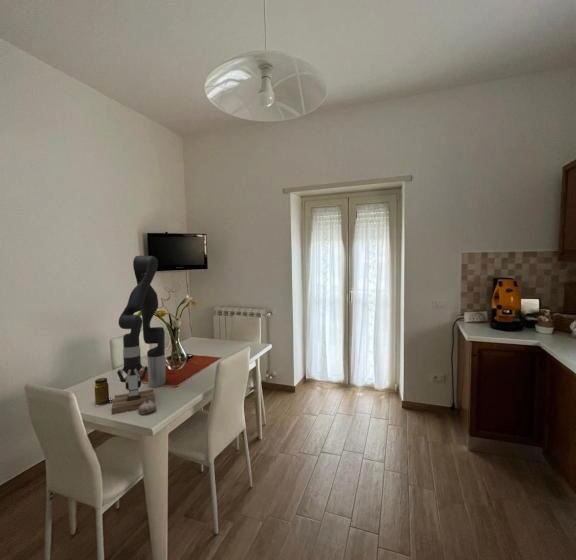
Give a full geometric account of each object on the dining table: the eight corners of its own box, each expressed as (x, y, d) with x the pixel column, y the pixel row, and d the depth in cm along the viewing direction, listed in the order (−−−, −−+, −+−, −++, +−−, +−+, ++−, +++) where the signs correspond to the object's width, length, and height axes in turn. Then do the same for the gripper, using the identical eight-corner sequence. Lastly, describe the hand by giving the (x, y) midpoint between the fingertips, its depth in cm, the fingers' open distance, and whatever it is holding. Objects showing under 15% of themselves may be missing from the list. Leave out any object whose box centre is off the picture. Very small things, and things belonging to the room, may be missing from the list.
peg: (129, 393, 155) (128, 373, 155) (138, 391, 157) (137, 372, 156) (128, 396, 151) (128, 376, 151) (138, 394, 153) (137, 375, 153)
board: (115, 401, 158) (115, 395, 158) (153, 394, 165) (153, 389, 165) (111, 414, 144) (111, 408, 144) (153, 406, 151) (153, 400, 151)
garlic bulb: (159, 409, 149) (158, 393, 148) (148, 416, 142) (148, 399, 141) (145, 407, 151) (145, 391, 150) (134, 414, 144) (134, 398, 143)
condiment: (93, 402, 157) (92, 379, 157) (112, 397, 163) (111, 375, 162) (95, 407, 152) (94, 383, 151) (115, 402, 157) (114, 379, 156)
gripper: (147, 350, 159) (149, 383, 160) (116, 354, 154) (118, 388, 155) (147, 354, 153) (149, 388, 154) (114, 358, 147) (116, 394, 148)
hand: (133, 388), depth 154 cm, fingers closed on peg, 4 cm apart
